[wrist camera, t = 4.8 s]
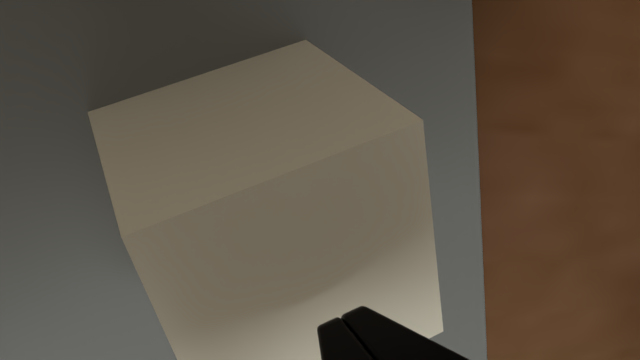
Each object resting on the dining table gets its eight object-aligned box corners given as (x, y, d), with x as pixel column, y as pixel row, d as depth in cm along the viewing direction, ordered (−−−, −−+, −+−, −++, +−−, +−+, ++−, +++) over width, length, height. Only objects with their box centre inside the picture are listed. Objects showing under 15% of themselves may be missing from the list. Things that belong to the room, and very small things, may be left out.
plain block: (340, 213, 17) (443, 331, 13) (163, 286, 15) (215, 443, 11) (305, 39, 14) (422, 120, 10) (87, 112, 13) (121, 237, 9)
